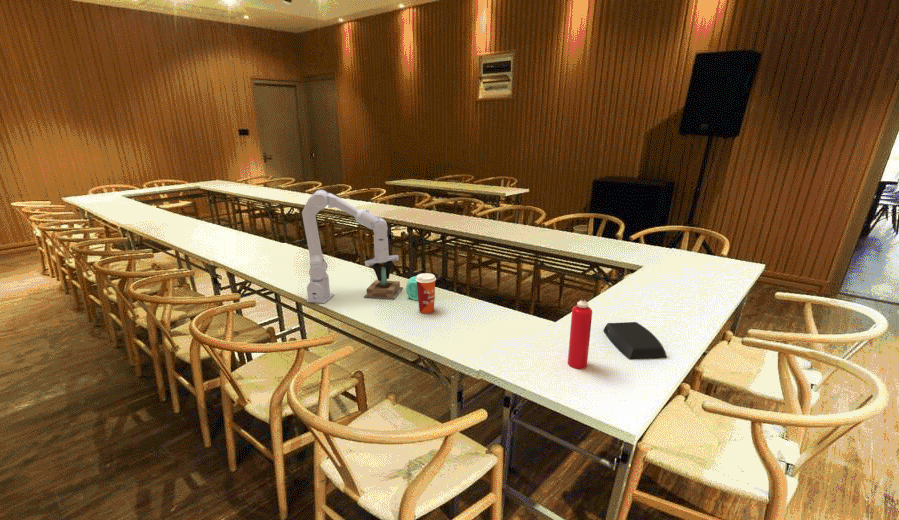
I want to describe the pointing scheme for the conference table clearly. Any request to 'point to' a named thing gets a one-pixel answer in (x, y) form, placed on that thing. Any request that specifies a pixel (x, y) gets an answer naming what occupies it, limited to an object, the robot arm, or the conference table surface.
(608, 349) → the conference table surface
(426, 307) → the paper cup
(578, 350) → the bottle
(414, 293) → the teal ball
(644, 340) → the external hard drive
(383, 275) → the peg
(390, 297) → the socket
